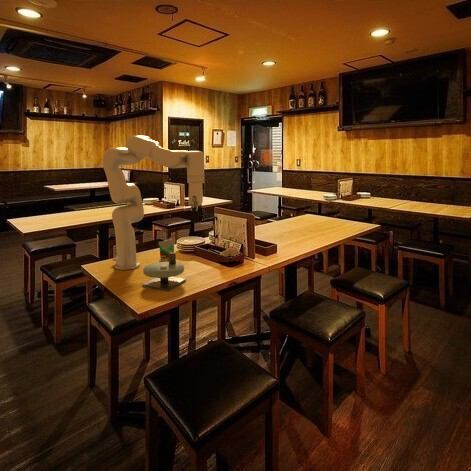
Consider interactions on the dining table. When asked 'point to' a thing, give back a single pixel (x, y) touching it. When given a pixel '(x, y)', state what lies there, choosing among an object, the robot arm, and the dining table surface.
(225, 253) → the decorative item
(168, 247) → the food container
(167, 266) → the handwheel
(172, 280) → the wheel stand
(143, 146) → the robot arm
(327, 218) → the dining table surface
